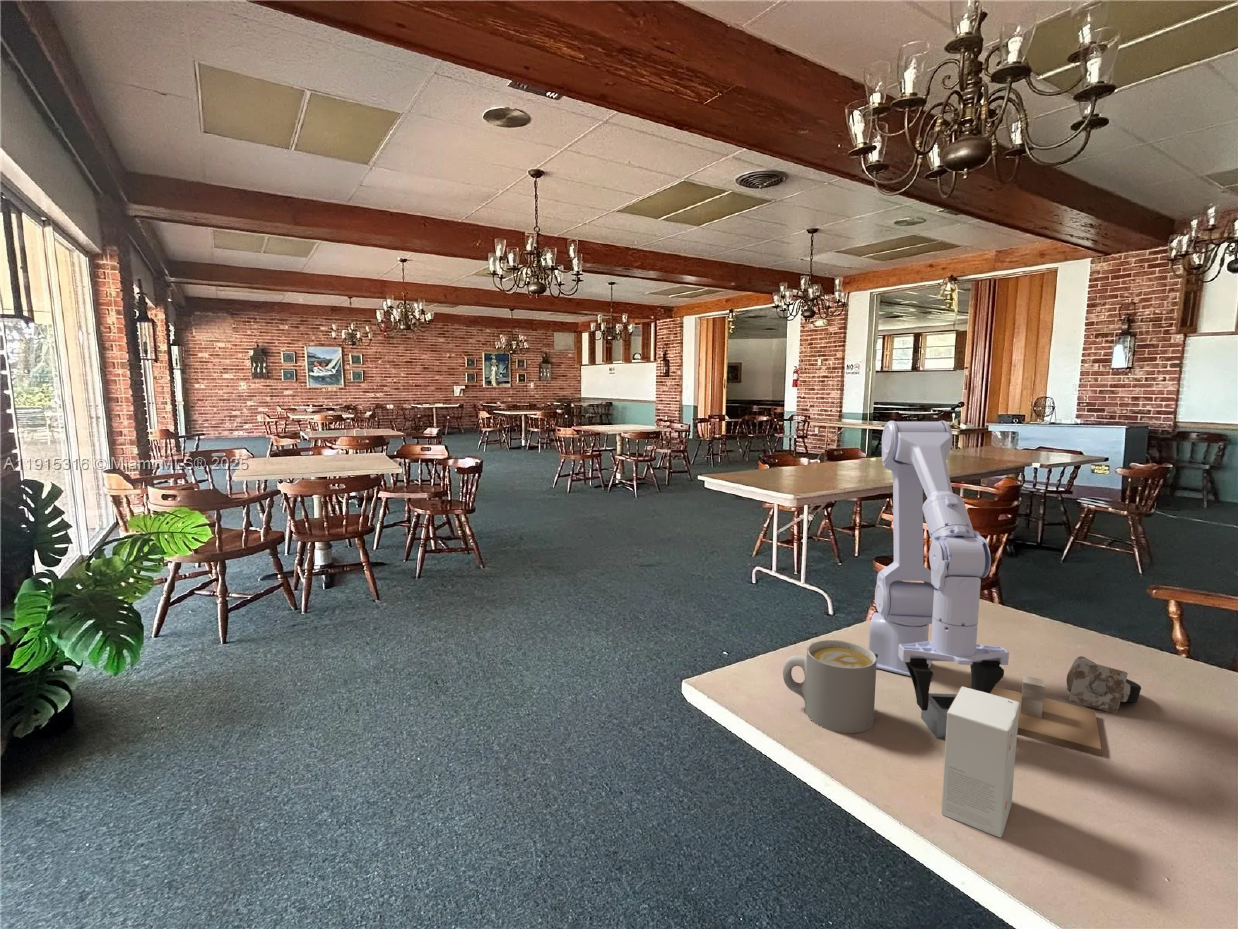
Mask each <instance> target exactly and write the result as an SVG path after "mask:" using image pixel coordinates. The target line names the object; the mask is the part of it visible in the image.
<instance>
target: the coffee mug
mask: <svg viewBox="0 0 1238 929" xmlns="http://www.w3.org/2000/svg"><path fill="white" fill-rule="evenodd" d="M794 667H800V668H801V669H802V670H803V675H804V679H803V681H802V682H797V681H796V680H795V679H794V678H793V676H792V670H793V668H794ZM782 669H783V670H782V677H783V681H784V684H785V686H786V687H787V688H788V690H790V691H792V692H793V693H795V694H797V695H798V696H800V697H801V698H802V700H803V701H804V711H805V712H806V713H805V712H804V713H805V715H806V714H807V715H808V717H809V718H810V719H812V721H813V722H812V721H811V722H812V723H814V722H815V723H816V724H815V723H814V724H815V725H817V724H818V725H817V726H819V727H821V726H822V727H821V728H823V727H824V728H823V729H825V728H826V730H828V729H829V730H828V731H831V730H832V732H836V733H841V732H845V733H844V734H856V733H857V732H858V733H863V732H865V731H868V730H870V729H871V728H872V727H873V725H874V721H875V720H874V718H875V700H876V699H875V697H876V681H877V680H876V678H877V668H876V656H875V654H874V653H873V652H872V651H871V650H869V648H867V647H866V646H863V645H861V644H859V643H855V642H852V641H847V640H839V639H823V640H817V641H813V642H811V643H810V644H809V645H808V646H807V649H806V655H799V654H798V655H797V654H796V655H791V656H789V657H788V658H787V659H786V660H785V661H784V664H783V668H782ZM807 715H806V716H807ZM808 717H807V718H808ZM809 718H808V719H809ZM810 719H809V720H810ZM855 732H856V733H855Z"/></svg>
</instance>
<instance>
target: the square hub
mask: <svg viewBox="0 0 1238 929" xmlns="http://www.w3.org/2000/svg"><path fill="white" fill-rule="evenodd" d="M956 695H957V693H936V692H935V693H932V692H931V693H930V692H929V703H928V709H927V711H926V710H922V709H921V708H920V710H921V712H920V713H921V715H920V718H921V720H922V721H923V723H925V725H926V726H927V728H928V729H929V730H930V731H931V733H932V734H933V735H934V737H935V739H944V740H946V725H947V711H948V710H949V708H950V706H951V704H952V702H953V701H954V699H955V697H956Z"/></svg>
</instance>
